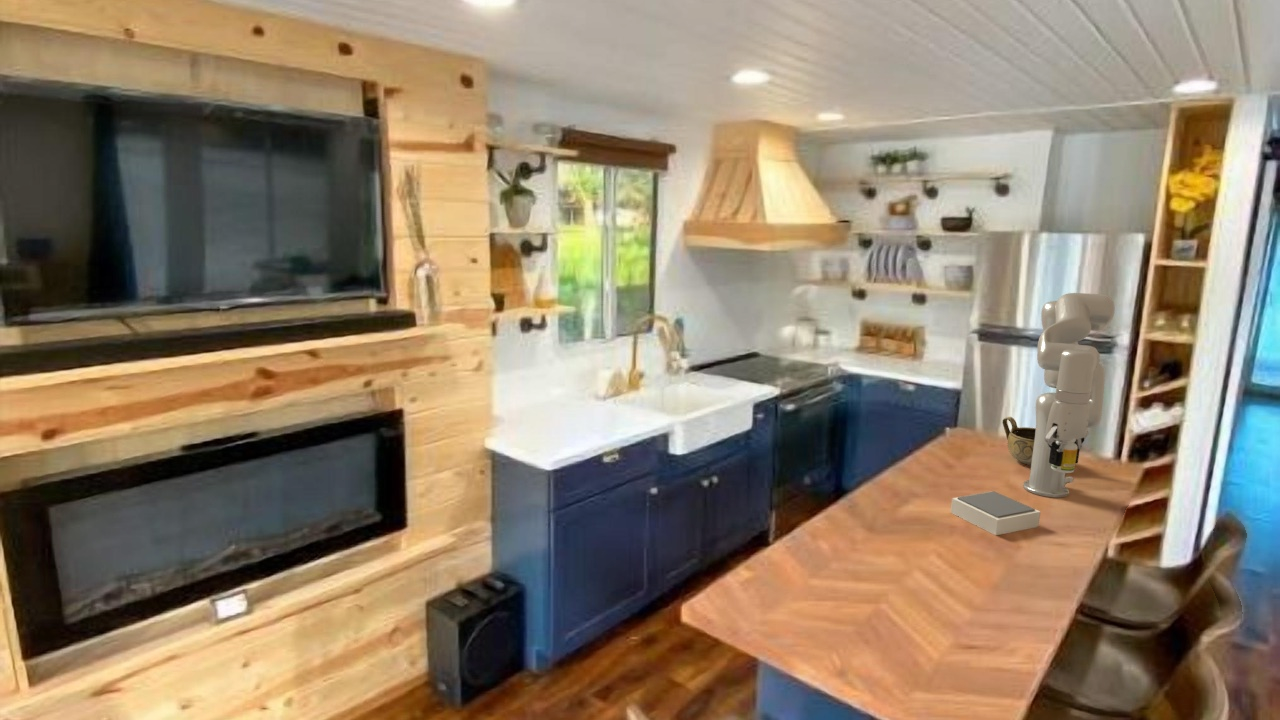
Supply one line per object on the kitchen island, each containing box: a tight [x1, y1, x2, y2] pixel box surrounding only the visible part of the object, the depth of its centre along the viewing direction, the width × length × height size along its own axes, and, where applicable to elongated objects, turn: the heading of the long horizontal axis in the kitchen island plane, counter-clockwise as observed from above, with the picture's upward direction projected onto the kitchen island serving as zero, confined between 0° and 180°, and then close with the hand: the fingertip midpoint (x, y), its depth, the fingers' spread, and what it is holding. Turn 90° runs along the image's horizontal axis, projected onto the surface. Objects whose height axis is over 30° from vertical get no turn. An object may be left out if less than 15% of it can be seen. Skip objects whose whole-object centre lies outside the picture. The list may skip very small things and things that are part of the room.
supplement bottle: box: [1051, 437, 1078, 474], centre depth 188 cm, size 5×5×10 cm
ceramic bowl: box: [1002, 416, 1036, 467], centre depth 249 cm, size 22×17×15 cm
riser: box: [950, 490, 1041, 536], centre depth 203 cm, size 16×16×5 cm
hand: (1063, 462), depth 189 cm, fingers closed on supplement bottle, 5 cm apart
